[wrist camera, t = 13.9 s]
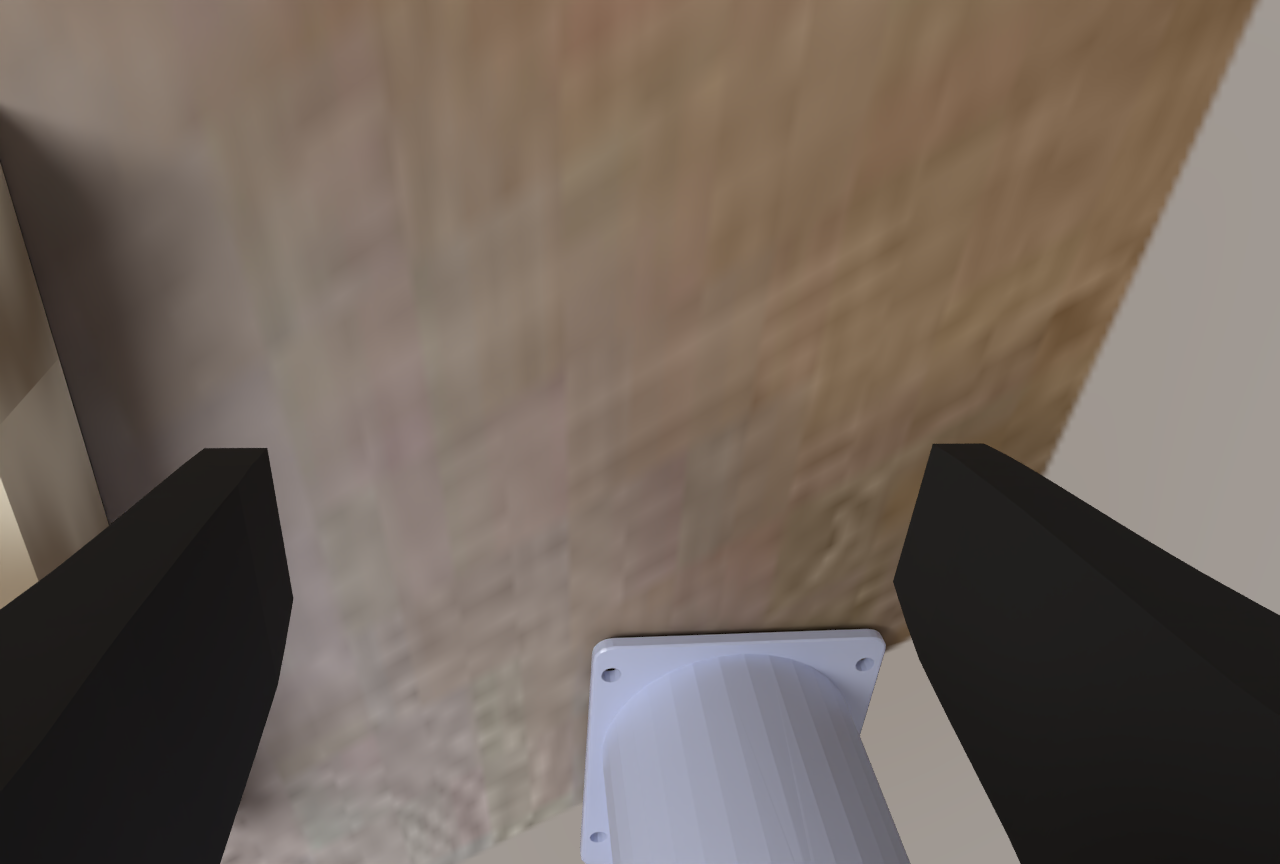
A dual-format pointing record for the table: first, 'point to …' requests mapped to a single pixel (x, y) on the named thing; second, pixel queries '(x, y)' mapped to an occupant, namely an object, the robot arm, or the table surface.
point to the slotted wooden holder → (36, 432)
